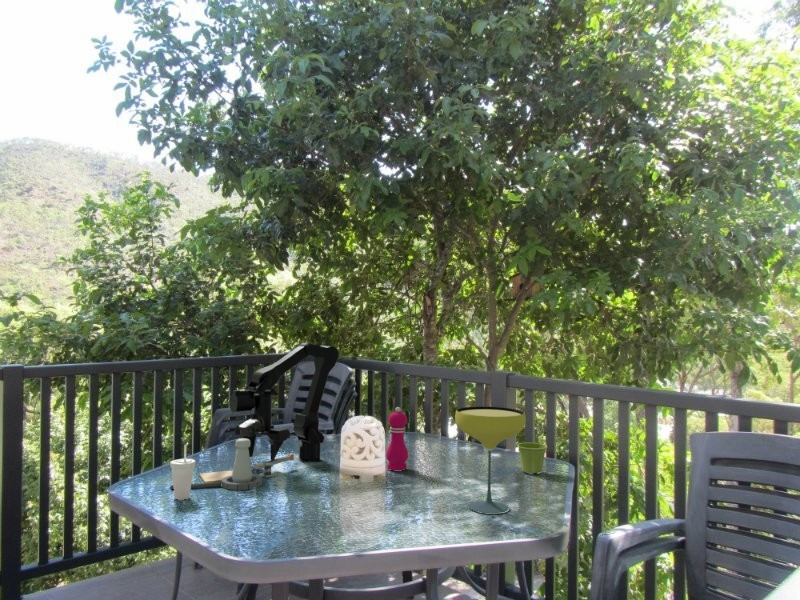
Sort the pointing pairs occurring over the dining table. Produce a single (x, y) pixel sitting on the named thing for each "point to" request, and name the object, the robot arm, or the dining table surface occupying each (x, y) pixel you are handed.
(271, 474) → the clip post
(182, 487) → the smoothie
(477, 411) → the cocktail glass
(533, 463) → the plant pot
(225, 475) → the coaster
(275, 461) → the clip
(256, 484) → the grey ring with rod
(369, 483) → the dining table surface
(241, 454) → the salt shaker
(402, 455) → the pepper mill
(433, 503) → the dining table surface
